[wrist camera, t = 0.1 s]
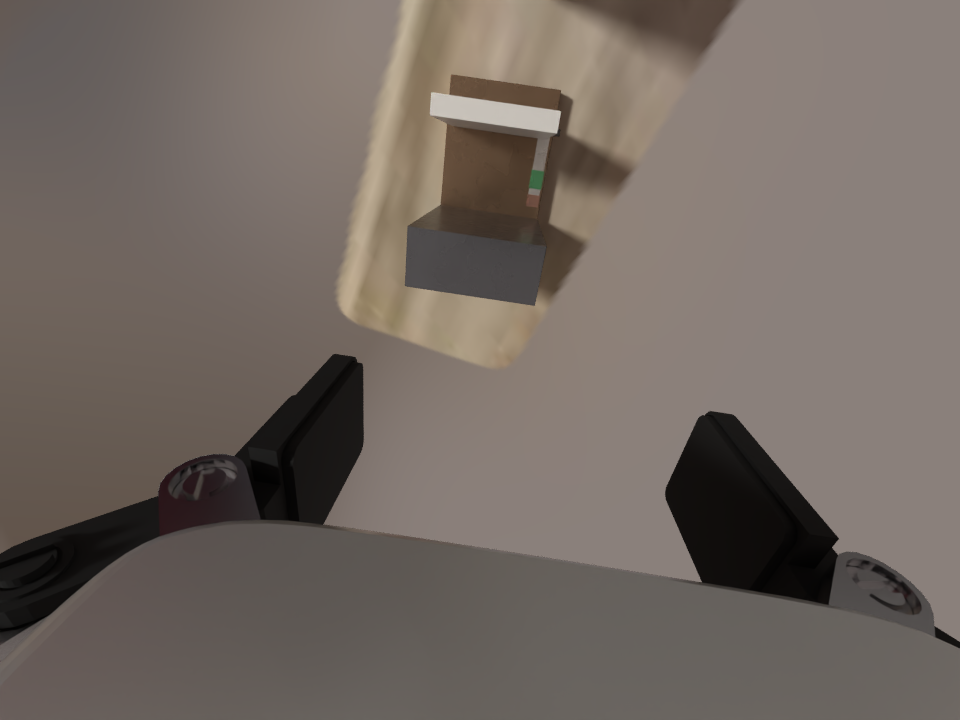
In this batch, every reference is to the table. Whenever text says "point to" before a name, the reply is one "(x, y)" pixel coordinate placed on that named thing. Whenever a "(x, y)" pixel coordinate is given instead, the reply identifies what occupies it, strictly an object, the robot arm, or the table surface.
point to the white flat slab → (495, 116)
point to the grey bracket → (485, 206)
